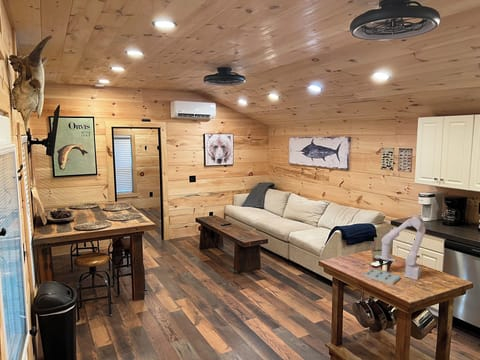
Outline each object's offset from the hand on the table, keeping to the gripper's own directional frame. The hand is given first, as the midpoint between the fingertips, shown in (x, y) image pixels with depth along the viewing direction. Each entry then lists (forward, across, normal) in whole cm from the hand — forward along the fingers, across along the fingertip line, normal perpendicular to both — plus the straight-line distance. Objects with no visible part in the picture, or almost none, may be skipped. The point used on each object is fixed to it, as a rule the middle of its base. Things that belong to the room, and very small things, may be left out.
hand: (385, 269), depth 262 cm
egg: (+1, 0, 0) cm, 1 cm away
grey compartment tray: (+1, -3, +13) cm, 13 cm away
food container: (+2, +13, -19) cm, 23 cm away
